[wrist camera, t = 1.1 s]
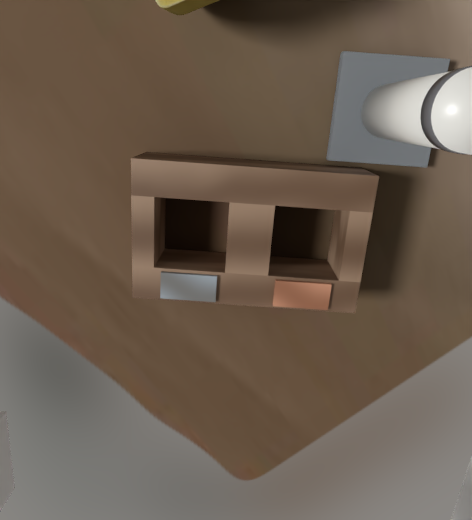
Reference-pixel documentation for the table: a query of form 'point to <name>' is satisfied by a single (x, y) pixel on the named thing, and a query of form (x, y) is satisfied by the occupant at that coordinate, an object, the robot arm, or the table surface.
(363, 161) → the mat
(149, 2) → the table surface
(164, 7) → the flower pot
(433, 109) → the plug
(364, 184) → the socket block
